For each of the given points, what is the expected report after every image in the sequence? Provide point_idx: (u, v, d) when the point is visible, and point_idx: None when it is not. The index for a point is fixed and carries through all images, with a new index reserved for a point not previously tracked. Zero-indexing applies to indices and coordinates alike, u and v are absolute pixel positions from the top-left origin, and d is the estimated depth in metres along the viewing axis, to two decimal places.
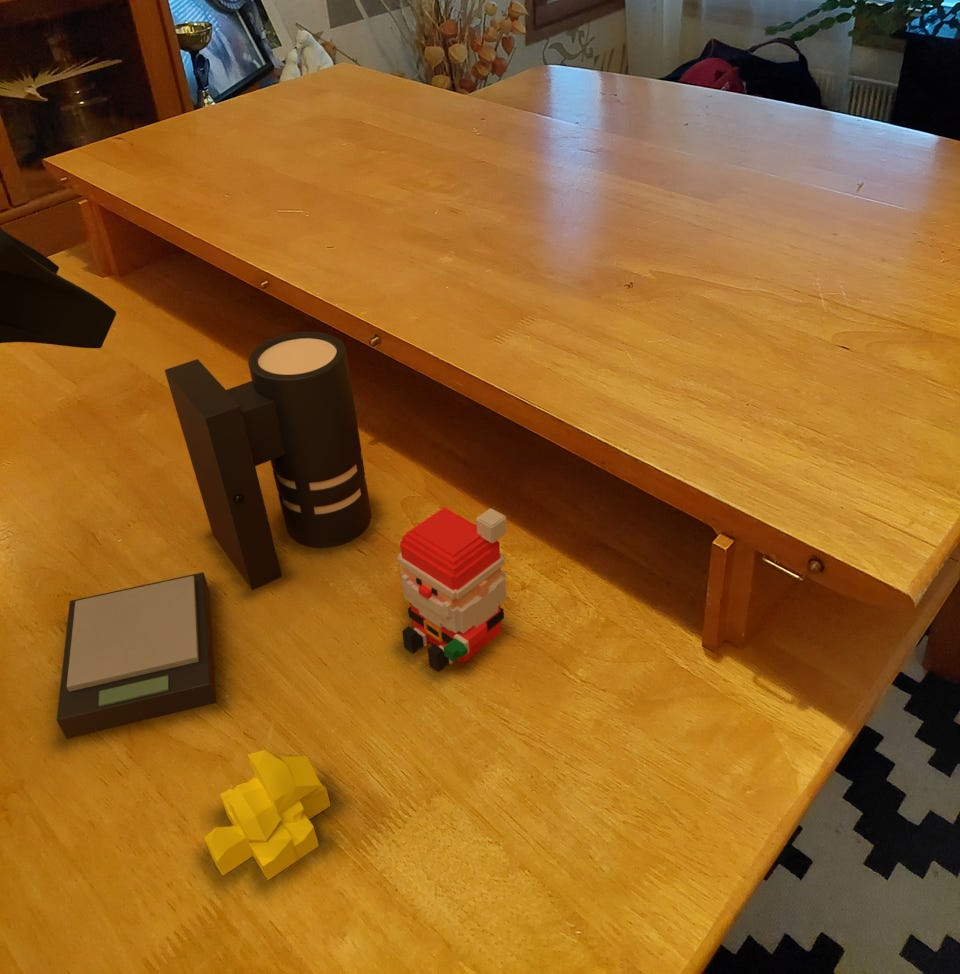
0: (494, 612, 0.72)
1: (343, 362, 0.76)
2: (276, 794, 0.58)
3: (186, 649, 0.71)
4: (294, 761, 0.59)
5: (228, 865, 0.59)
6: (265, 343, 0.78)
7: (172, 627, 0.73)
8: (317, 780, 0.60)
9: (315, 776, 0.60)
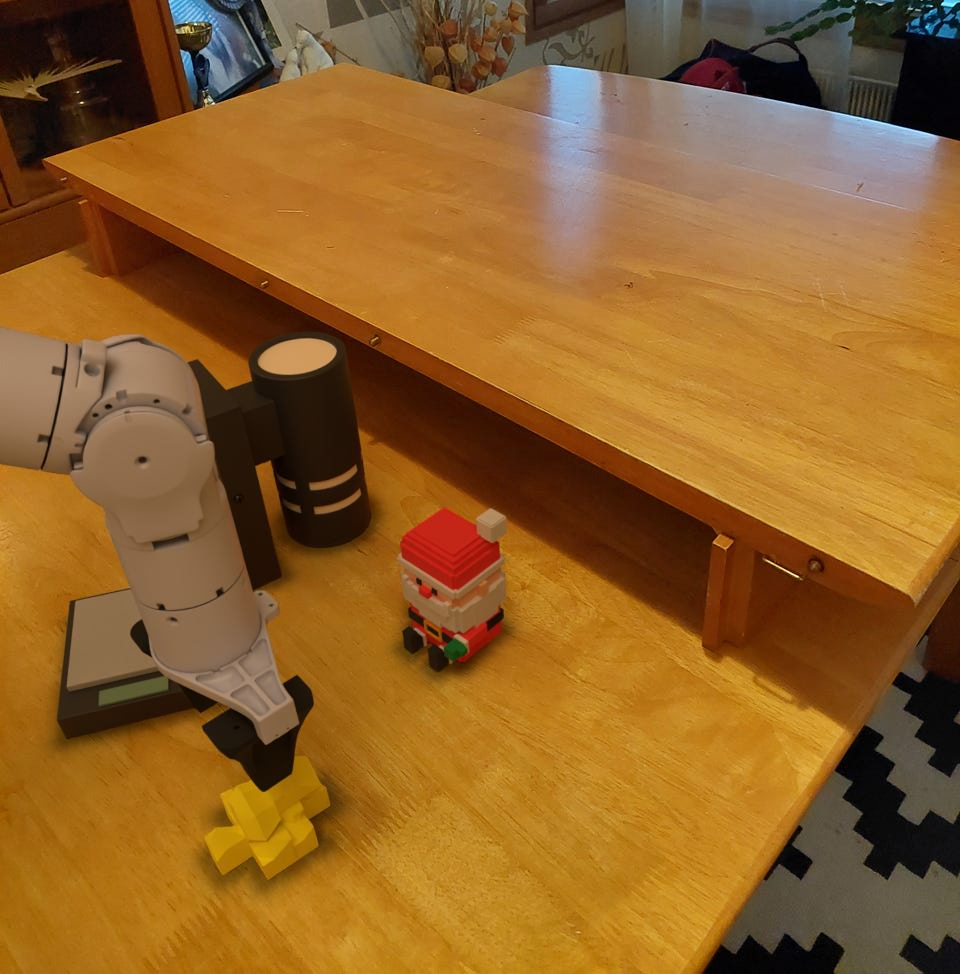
0: (494, 612, 0.72)
1: (343, 362, 0.76)
2: (276, 794, 0.58)
3: None
4: (294, 761, 0.59)
5: (228, 865, 0.59)
6: (265, 343, 0.78)
7: None
8: (317, 780, 0.60)
9: (315, 776, 0.60)
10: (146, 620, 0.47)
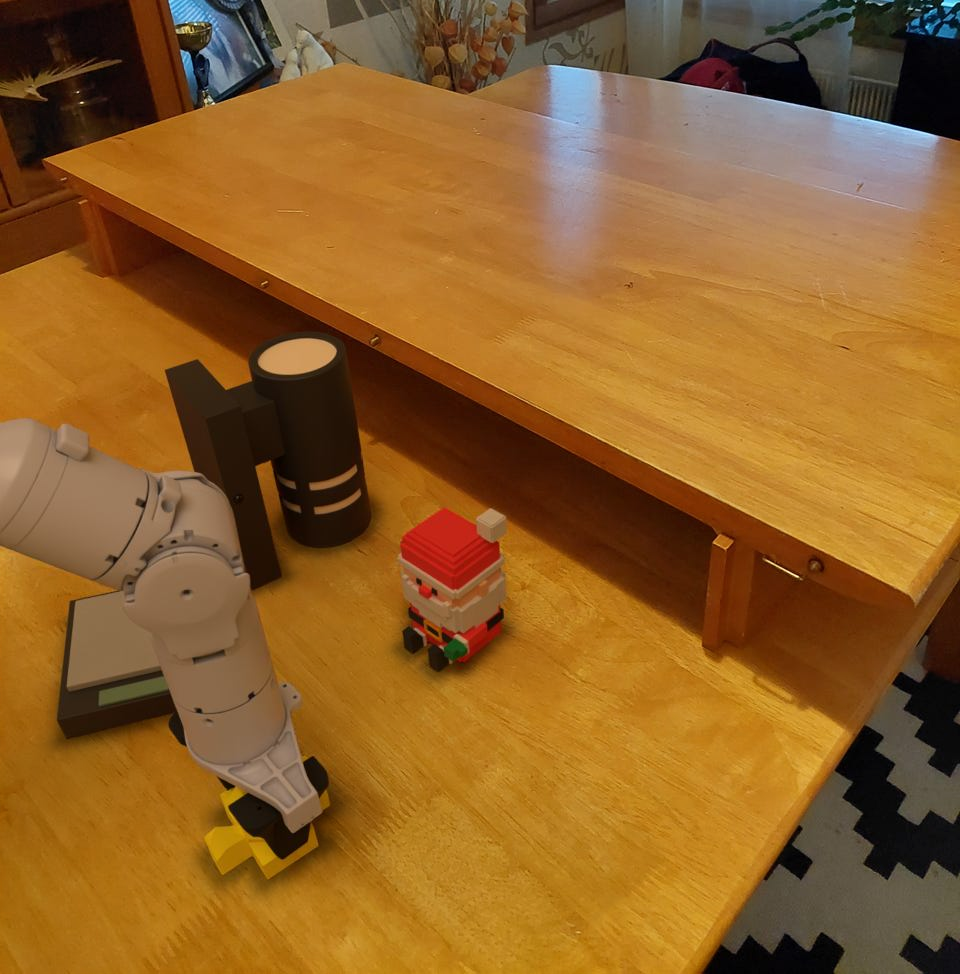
0: (494, 612, 0.72)
1: (343, 362, 0.76)
2: None
3: None
4: None
5: (227, 865, 0.59)
6: (265, 343, 0.78)
7: None
8: None
9: None
10: (184, 719, 0.51)
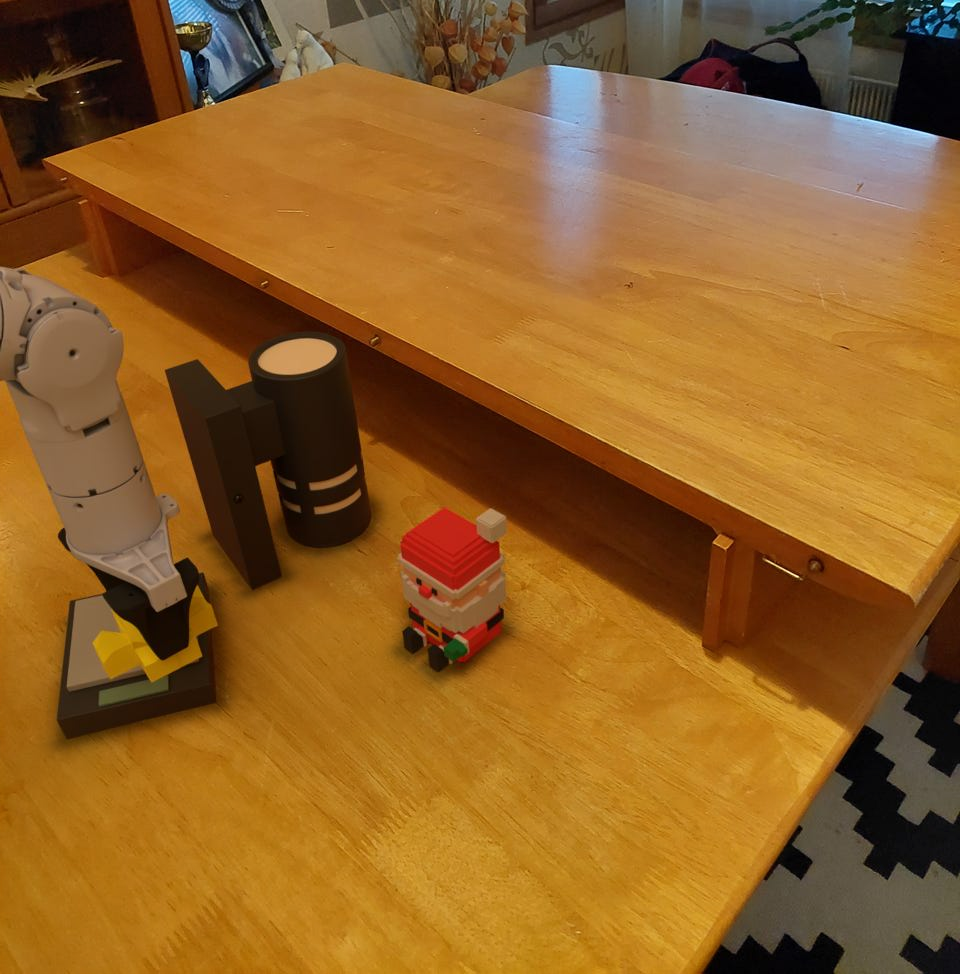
0: (494, 612, 0.72)
1: (343, 362, 0.76)
2: None
3: None
4: None
5: (115, 669, 0.64)
6: (265, 343, 0.78)
7: None
8: (200, 593, 0.64)
9: (198, 589, 0.64)
10: (58, 508, 0.56)
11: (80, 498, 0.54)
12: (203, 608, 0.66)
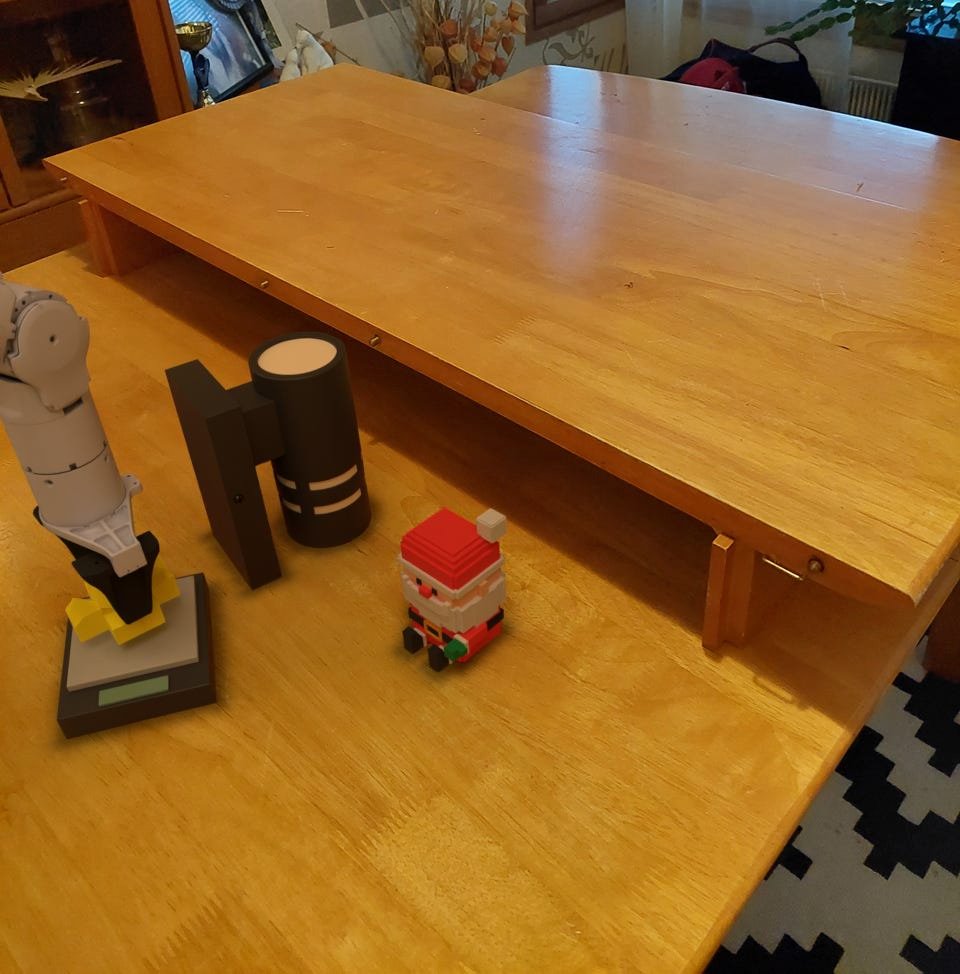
0: (494, 612, 0.72)
1: (343, 362, 0.76)
2: None
3: (186, 649, 0.71)
4: None
5: (85, 633, 0.70)
6: (265, 343, 0.78)
7: (172, 627, 0.73)
8: (163, 564, 0.71)
9: (161, 561, 0.71)
10: (31, 484, 0.62)
11: (50, 475, 0.61)
12: (166, 578, 0.72)
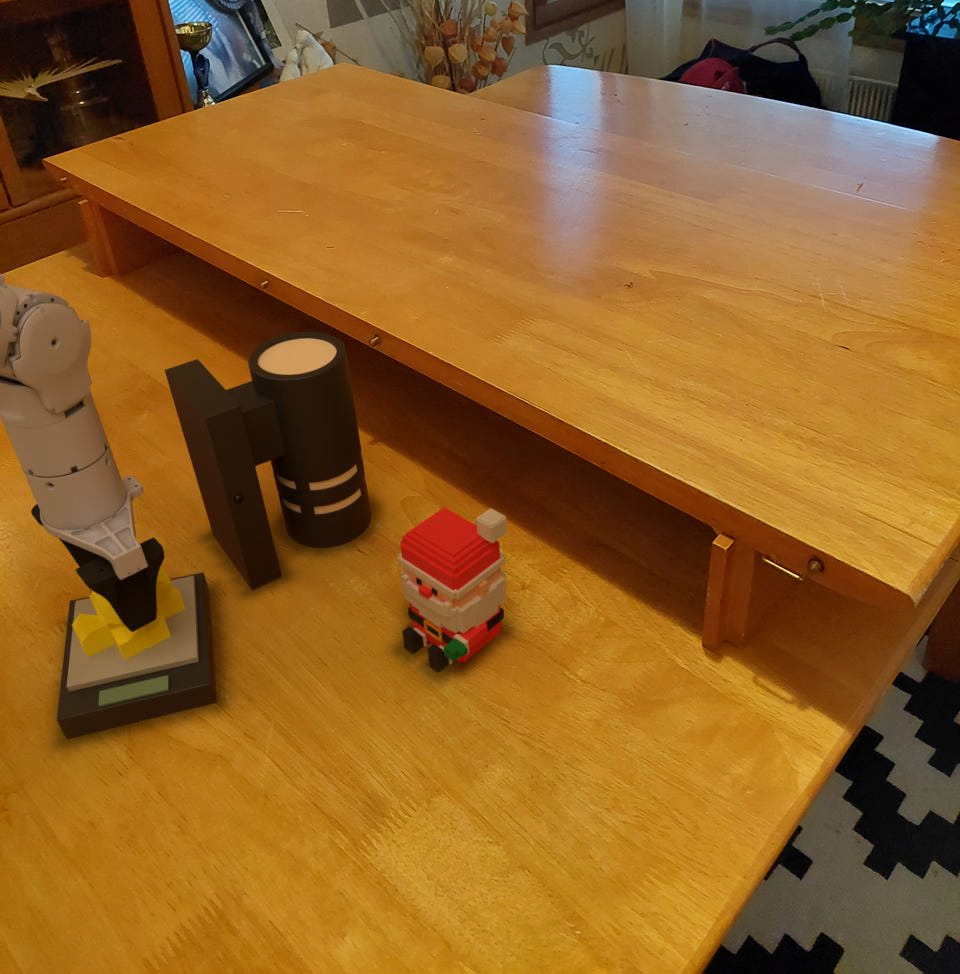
0: (494, 612, 0.72)
1: (343, 362, 0.76)
2: None
3: (186, 649, 0.71)
4: None
5: (92, 648, 0.71)
6: (265, 343, 0.78)
7: (172, 627, 0.73)
8: (168, 579, 0.72)
9: (166, 576, 0.72)
10: (32, 487, 0.62)
11: (51, 478, 0.61)
12: (172, 593, 0.73)
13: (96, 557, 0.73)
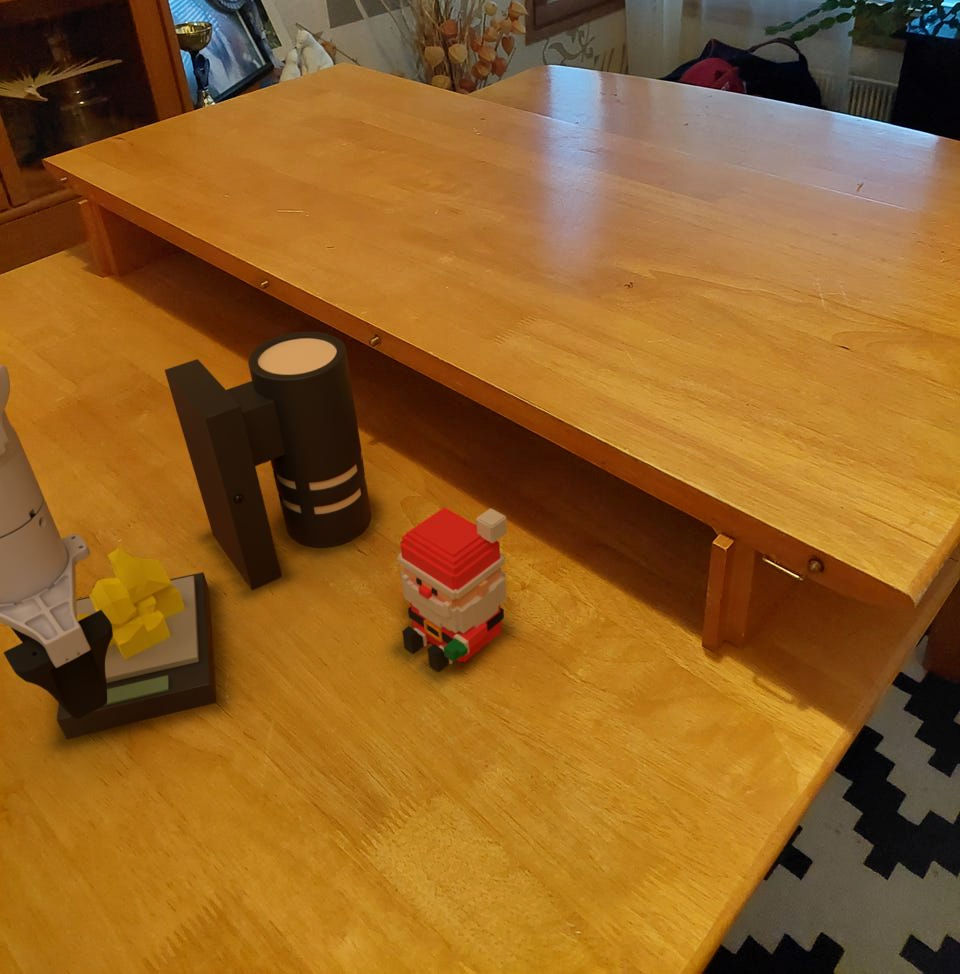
0: (494, 612, 0.72)
1: (343, 362, 0.76)
2: (129, 585, 0.70)
3: (186, 649, 0.71)
4: (147, 562, 0.71)
5: None
6: (265, 343, 0.78)
7: (172, 627, 0.73)
8: (168, 579, 0.72)
9: (166, 576, 0.72)
10: None
11: None
12: (172, 593, 0.73)
13: None
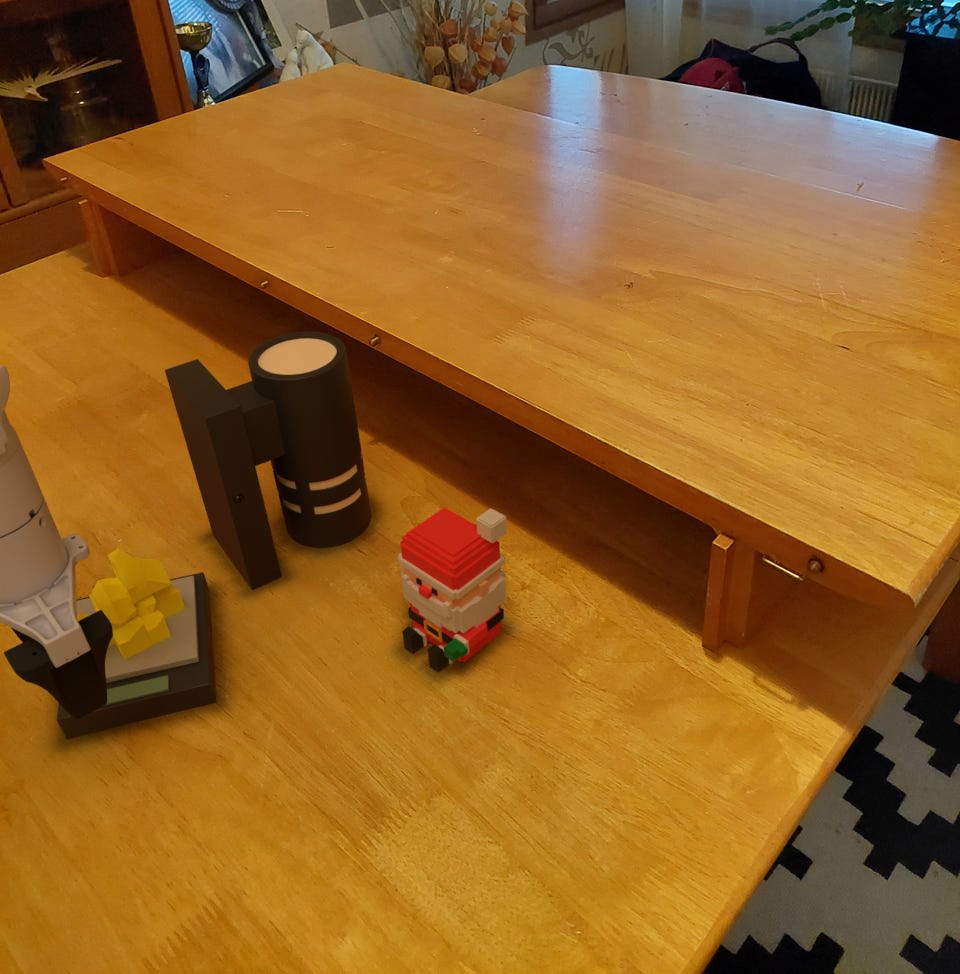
0: (494, 612, 0.72)
1: (343, 362, 0.76)
2: (129, 585, 0.70)
3: (186, 649, 0.71)
4: (147, 562, 0.71)
5: None
6: (265, 343, 0.78)
7: (172, 627, 0.73)
8: (168, 579, 0.72)
9: (166, 576, 0.72)
10: None
11: None
12: (172, 593, 0.73)
13: None
